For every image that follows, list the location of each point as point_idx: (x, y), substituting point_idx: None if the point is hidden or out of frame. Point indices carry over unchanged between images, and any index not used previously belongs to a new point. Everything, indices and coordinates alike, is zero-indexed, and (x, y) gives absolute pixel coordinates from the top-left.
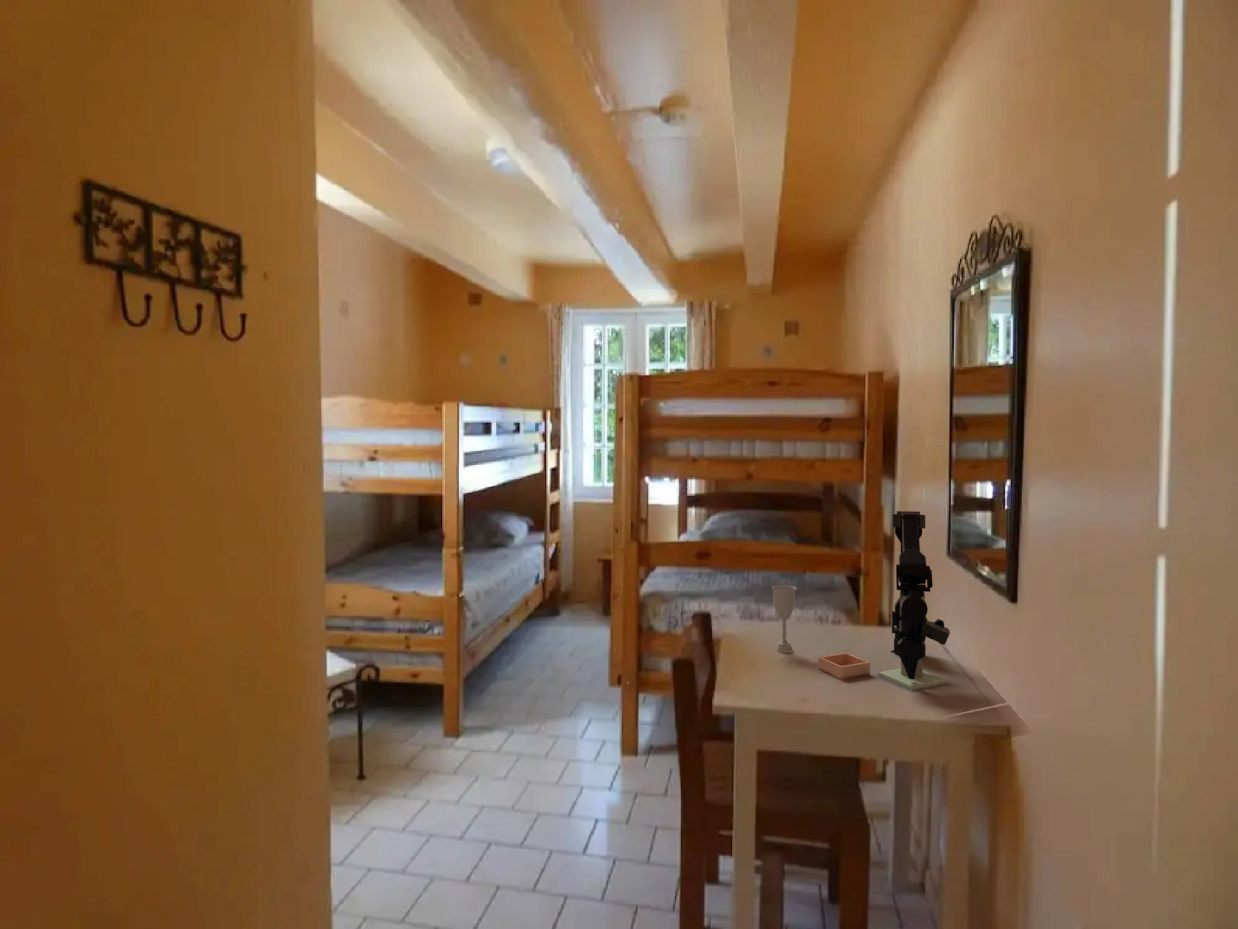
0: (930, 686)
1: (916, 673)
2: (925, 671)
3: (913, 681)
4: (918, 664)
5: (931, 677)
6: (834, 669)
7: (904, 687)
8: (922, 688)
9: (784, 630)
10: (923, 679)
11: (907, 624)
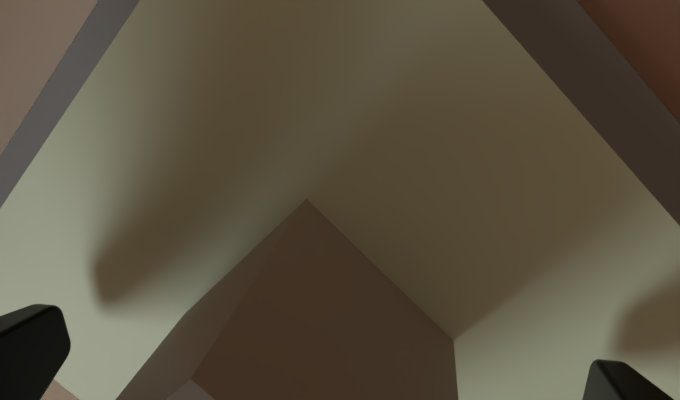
0: (555, 78)
1: (388, 323)
2: (44, 149)
3: (574, 331)
4: None
5: (285, 67)
6: None
7: None
8: (671, 194)
9: None
10: (436, 193)
11: None
